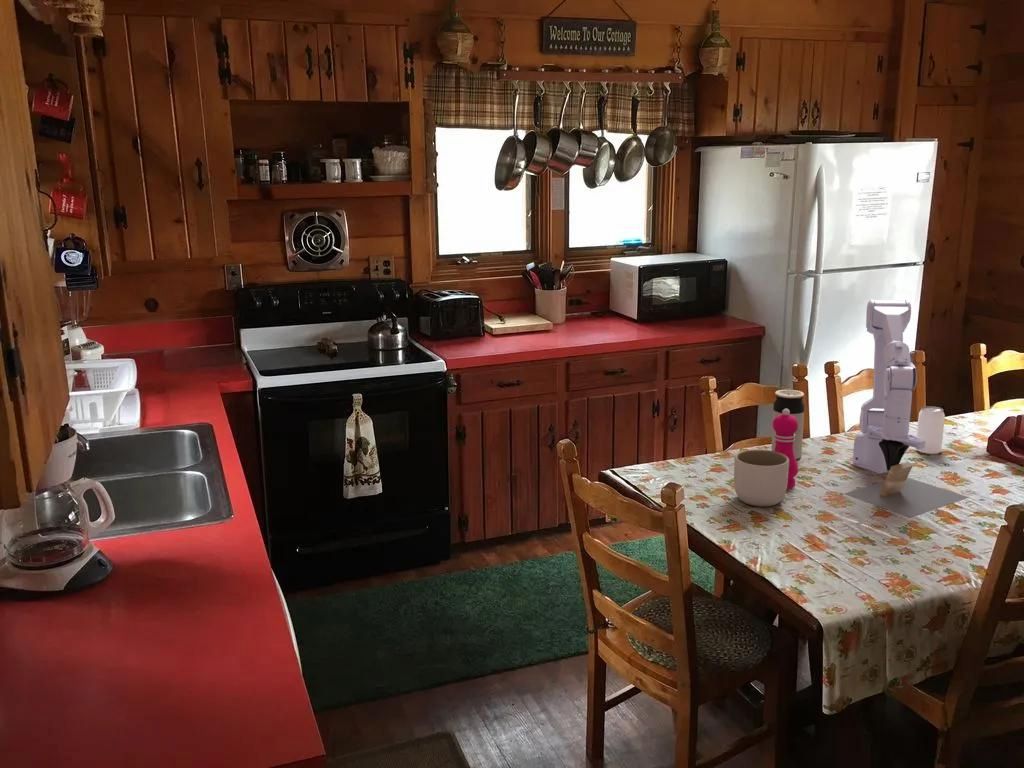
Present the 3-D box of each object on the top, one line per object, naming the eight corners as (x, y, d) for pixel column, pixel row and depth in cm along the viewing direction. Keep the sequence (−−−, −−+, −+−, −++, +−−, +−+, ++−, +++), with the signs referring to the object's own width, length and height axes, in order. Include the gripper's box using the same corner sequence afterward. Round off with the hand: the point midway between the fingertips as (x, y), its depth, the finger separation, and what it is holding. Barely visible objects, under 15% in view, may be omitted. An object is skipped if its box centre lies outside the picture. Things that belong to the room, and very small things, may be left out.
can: (945, 454, 241) (949, 412, 238) (921, 454, 241) (925, 412, 238) (934, 447, 247) (938, 405, 244) (911, 447, 247) (915, 406, 244)
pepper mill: (781, 492, 217) (785, 414, 212) (760, 483, 223) (764, 407, 218) (803, 487, 220) (808, 410, 215) (782, 478, 226) (786, 403, 221)
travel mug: (776, 449, 248) (780, 387, 244) (805, 454, 244) (809, 391, 239) (766, 457, 242) (769, 394, 237) (795, 462, 237) (799, 398, 233)
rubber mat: (843, 495, 214) (843, 493, 214) (901, 477, 225) (901, 475, 225) (910, 519, 199) (910, 517, 199) (968, 499, 210) (968, 497, 210)
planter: (771, 515, 203) (773, 470, 201) (723, 502, 212) (724, 458, 209) (795, 499, 212) (798, 456, 210) (748, 487, 220) (750, 445, 218)
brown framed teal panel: (878, 492, 212) (890, 466, 208) (894, 487, 215) (907, 461, 211) (884, 496, 211) (896, 470, 207) (900, 491, 214) (913, 465, 210)
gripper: (859, 411, 212) (855, 465, 216) (913, 425, 200) (908, 482, 204) (878, 406, 216) (874, 459, 219) (932, 420, 204) (927, 476, 207)
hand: (892, 470), depth 212 cm, fingers closed
